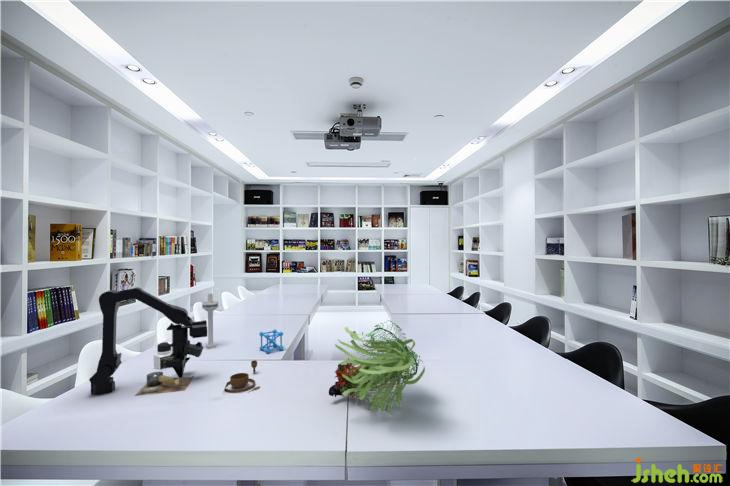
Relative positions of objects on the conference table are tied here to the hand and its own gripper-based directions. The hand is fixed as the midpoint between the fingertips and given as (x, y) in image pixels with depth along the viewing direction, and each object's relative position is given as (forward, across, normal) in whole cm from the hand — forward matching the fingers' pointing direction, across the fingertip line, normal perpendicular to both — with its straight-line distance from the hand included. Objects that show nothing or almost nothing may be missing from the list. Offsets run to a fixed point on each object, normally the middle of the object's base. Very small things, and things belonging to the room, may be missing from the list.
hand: (180, 377), depth 142 cm
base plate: (+2, -4, +4) cm, 6 cm away
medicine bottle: (+3, +22, +12) cm, 25 cm away
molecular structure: (+3, +38, -35) cm, 51 cm away
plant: (+3, -36, -74) cm, 82 cm away
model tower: (+3, +53, -1) cm, 53 cm away
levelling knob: (+1, -5, +5) cm, 7 cm away
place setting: (+3, -7, -27) cm, 28 cm away
